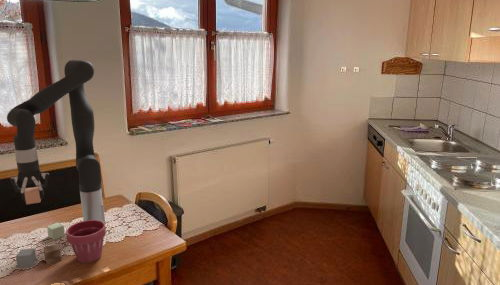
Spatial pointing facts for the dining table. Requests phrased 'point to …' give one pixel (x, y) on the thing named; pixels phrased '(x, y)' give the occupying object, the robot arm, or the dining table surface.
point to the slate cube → (26, 258)
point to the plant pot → (86, 239)
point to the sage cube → (56, 231)
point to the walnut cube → (52, 254)
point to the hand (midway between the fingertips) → (33, 199)
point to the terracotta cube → (32, 195)
